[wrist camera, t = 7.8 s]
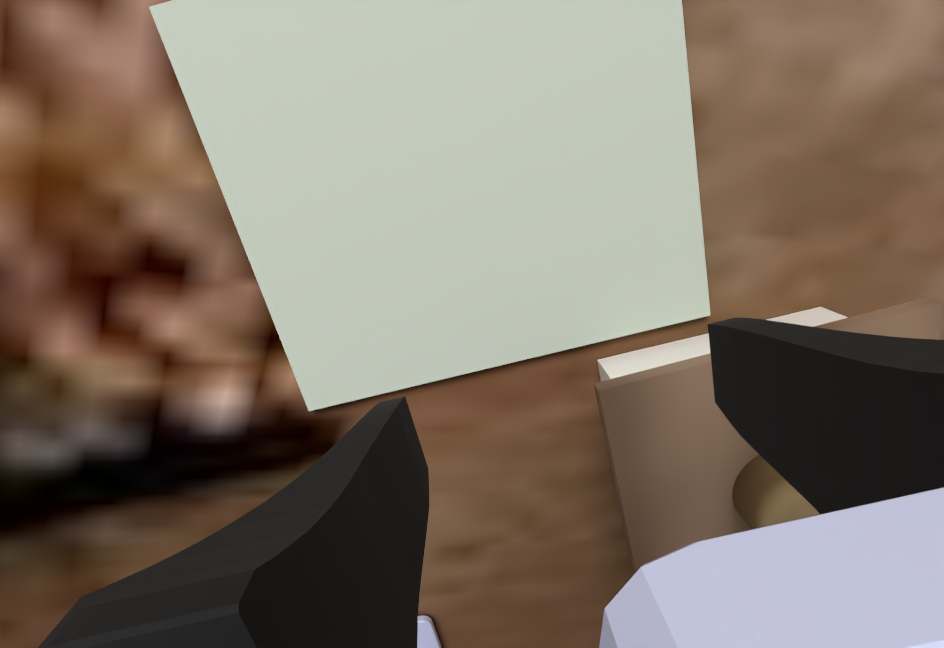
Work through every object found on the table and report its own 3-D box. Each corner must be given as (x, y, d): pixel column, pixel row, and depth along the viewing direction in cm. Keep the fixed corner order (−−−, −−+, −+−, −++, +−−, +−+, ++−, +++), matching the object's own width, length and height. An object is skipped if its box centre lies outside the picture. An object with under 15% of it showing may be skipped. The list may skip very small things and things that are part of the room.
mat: (311, 406, 22) (308, 411, 22) (155, 10, 17) (149, 7, 17) (705, 312, 21) (710, 315, 21) (664, -131, 16) (669, -138, 16)
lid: (643, 621, 22) (685, 722, 18) (593, 383, 18) (633, 445, 14) (918, 557, 21) (1023, 647, 17) (926, 297, 17) (1063, 337, 13)
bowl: (627, 535, 25) (658, 601, 21) (597, 359, 22) (627, 401, 18) (823, 491, 25) (890, 551, 21) (820, 306, 22) (899, 337, 18)
